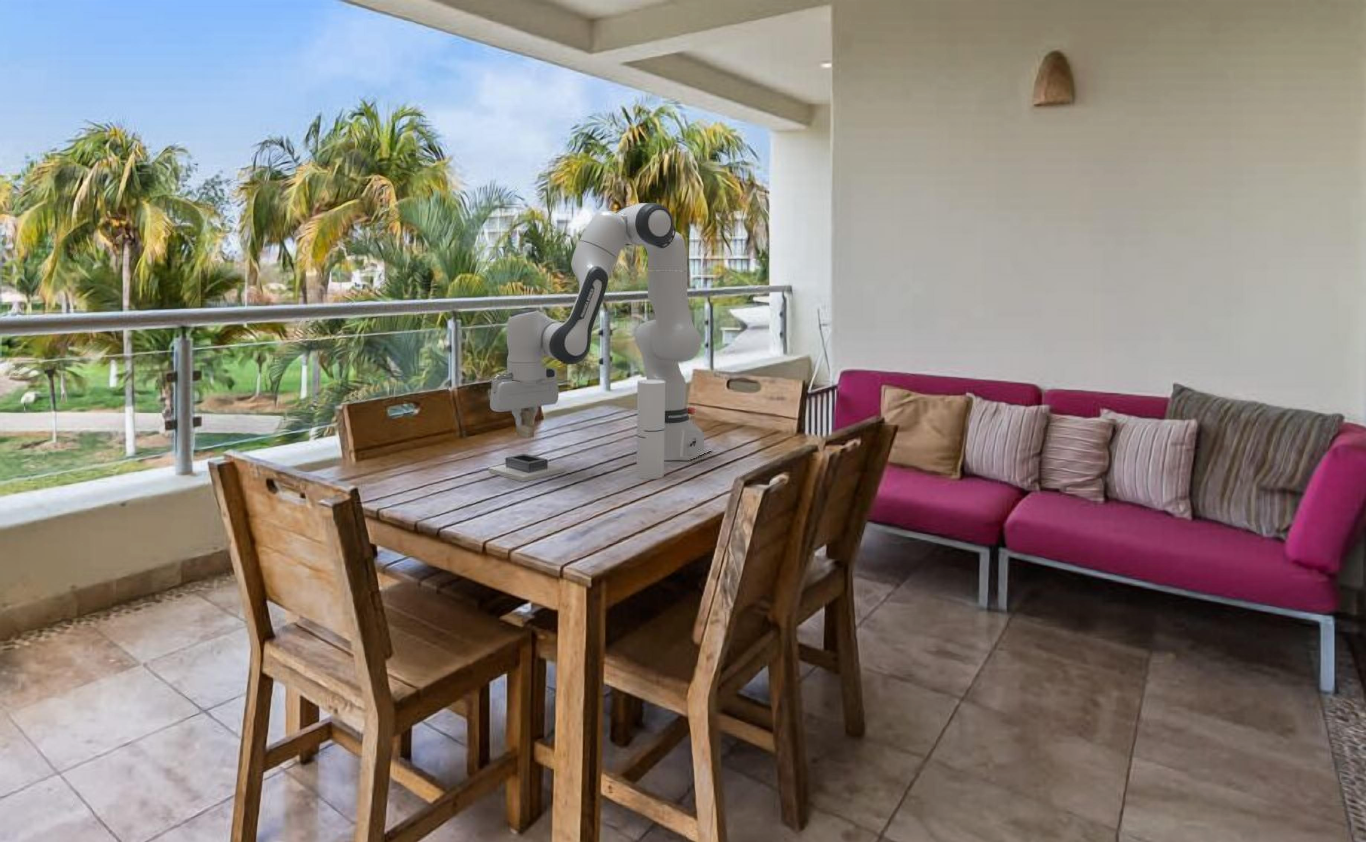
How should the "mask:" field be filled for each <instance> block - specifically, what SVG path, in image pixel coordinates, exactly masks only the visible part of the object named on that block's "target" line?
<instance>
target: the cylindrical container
mask: <svg viewBox="0 0 1366 842" xmlns="http://www.w3.org/2000/svg"><path fill="white" fill-rule="evenodd" d="M636 389H637V391H636V393H637V394H636V395H637V397H636V400H637V402H636V403H637V404H636V405H637V406H636V407H637V408H636V410H637V413H636V420H637V422H636V477H638V478H640V479H643V480H656V479H662V478H664V477H665V460H664V432H665V429H664V428H665V381H662V380H647V379H639V380H637V387H636Z"/></svg>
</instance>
